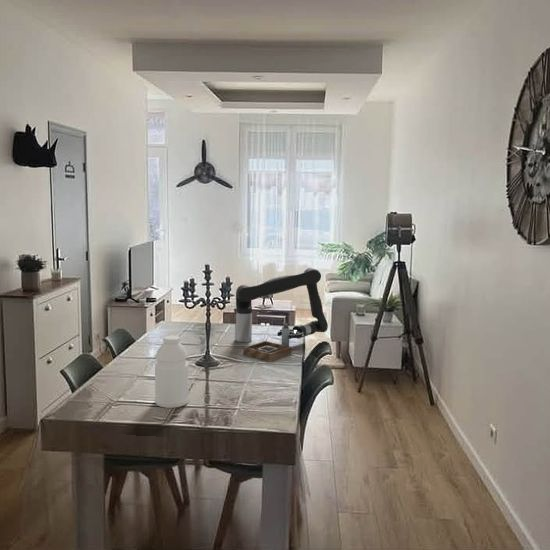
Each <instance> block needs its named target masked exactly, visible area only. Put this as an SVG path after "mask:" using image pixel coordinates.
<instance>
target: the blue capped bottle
mask: <svg viewBox="0 0 550 550" xmlns="http://www.w3.org/2000/svg"><path fill="white" fill-rule="evenodd" d="M281 329H282V335H281V344H282V345H286V346H290V339H289V333H290V329H291V328H290V327H289V323H283V325H282V327H281Z"/></svg>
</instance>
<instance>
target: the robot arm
mask: <svg viewBox="0 0 550 550" xmlns="http://www.w3.org/2000/svg"><path fill="white" fill-rule="evenodd" d="M321 280H322V274H321V272H320V271H319V270H318V269H317V268H312V267H309V268H307V269H305V270H304V271H303V272H301V273H298V274H290V275H282V276H277V277H273V278H270V279H268V280H267V281H264V282H262V283H261V284H257V285H251V286H248V285H247V284H241V285H239V286H238V287H237V288H236V292H235V307H236V315H235V316H236V317H235V318H236V319H235V320H236V324H235V325H234V340H235V341H236V342H239V343H250V342H252V338H253V337H252V335H253V333H252V332H253V308H252V307H253V306H252V301H253V300H256V299H258V298H259V299H260V298H261V297H267V296H271V295H275V294H280V293H284V292H287V291H289V290H293V289H296V288H299V287H304V286H305V287H306V289H307V292H308V293H307V294H308V299H309V305H310V312H311V316H312V317H313V319H314V318H315V319H316V320H312V321H310V322H306V323H302V324H301V323H300V324H297V325H294V326H293V327H292V328H290V333H289V340H291V339H297V340H299V339H302V338H305V337H308V336H311V335H314V334H315V333H326V332H327V330H328V328H329V326H328V321H327V319H326V316H325V314H324V310H323V303H322V299H321V296H320V293H319V289H318V284H319V282H320V281H321ZM276 335H277V336H278V337H280V336H281V337H282V328H281V329H279V331H278V332H277V334H276Z"/></svg>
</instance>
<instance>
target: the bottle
mask: <svg viewBox="0 0 550 550" xmlns="http://www.w3.org/2000/svg"><path fill="white" fill-rule="evenodd" d="M162 342H163V343H162V344H161V345H160V346H159V347H158V349H157V351H156V353H155V358H154V359H156V360H157V361H156V363H154V382H155V383H154V388H155V389H154V395H155V396H154V402H155V405H156V406H158V407H161V408H167V409H172V408H173V409H174V408H179V407H183V406H185V405H186V404H188V402H189V398H190V396H189V366H190V364H189V362H188V361H187V360H186V359H187V358H188V357H189V355H188V352H187V349H186V348H185V346H184V345H183V344H182V343H180V342H181V339H180V336H178V335H172V334H171V335H165V336H164V337H163V338H162Z"/></svg>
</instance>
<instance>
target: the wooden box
mask: <svg viewBox="0 0 550 550" xmlns="http://www.w3.org/2000/svg"><path fill="white" fill-rule="evenodd" d="M292 347H293V346H290V345H289V346H286V345H282V343H277V342H272V341H269V340H263V341H260V342H256V343H253V344H250V345H246V346H244V347H242V349H243V350H242V351H243V352H242V355H245V356H248V357H252V358H256V359H260V360H264V361H268V362H271V361H276V360H278V359H281V358H284V357H286V356H289V355H292V353H293V351H292V350H293V348H292Z"/></svg>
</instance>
